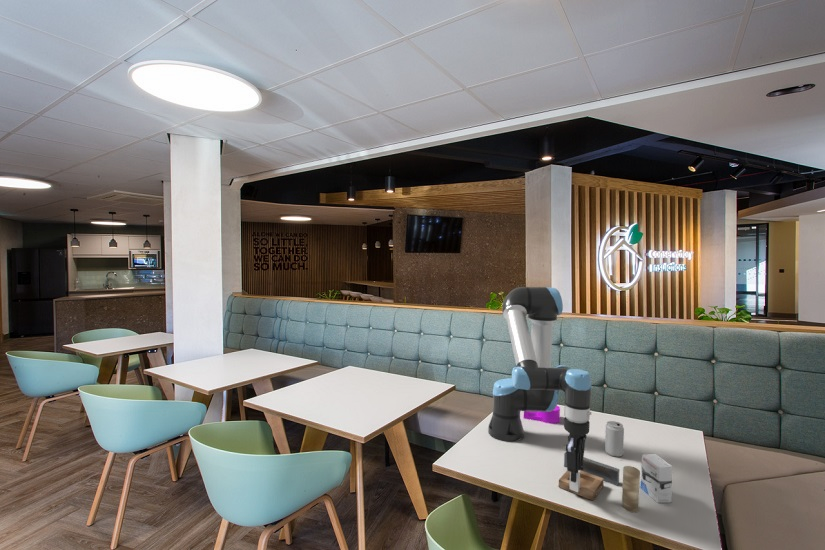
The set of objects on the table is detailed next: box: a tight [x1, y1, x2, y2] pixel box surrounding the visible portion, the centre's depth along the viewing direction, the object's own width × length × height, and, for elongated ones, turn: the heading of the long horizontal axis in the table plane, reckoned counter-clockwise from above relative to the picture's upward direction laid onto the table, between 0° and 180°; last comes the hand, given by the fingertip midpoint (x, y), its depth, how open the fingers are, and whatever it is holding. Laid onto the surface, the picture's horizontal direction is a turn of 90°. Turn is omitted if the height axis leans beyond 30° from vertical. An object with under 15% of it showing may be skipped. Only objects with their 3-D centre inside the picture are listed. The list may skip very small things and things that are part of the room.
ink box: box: [640, 453, 674, 504], centre depth 127 cm, size 8×5×12 cm, turn 5°
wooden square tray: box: [558, 469, 605, 501], centre depth 131 cm, size 11×11×2 cm
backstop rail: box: [563, 451, 620, 487], centre depth 139 cm, size 18×2×5 cm, turn 49°
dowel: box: [621, 465, 641, 513], centre depth 121 cm, size 4×4×12 cm
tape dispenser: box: [523, 405, 561, 425], centre depth 188 cm, size 16×10×6 cm, turn 67°
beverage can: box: [604, 420, 625, 458], centre depth 154 cm, size 6×6×12 cm
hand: (574, 489), depth 127 cm, fingers closed
